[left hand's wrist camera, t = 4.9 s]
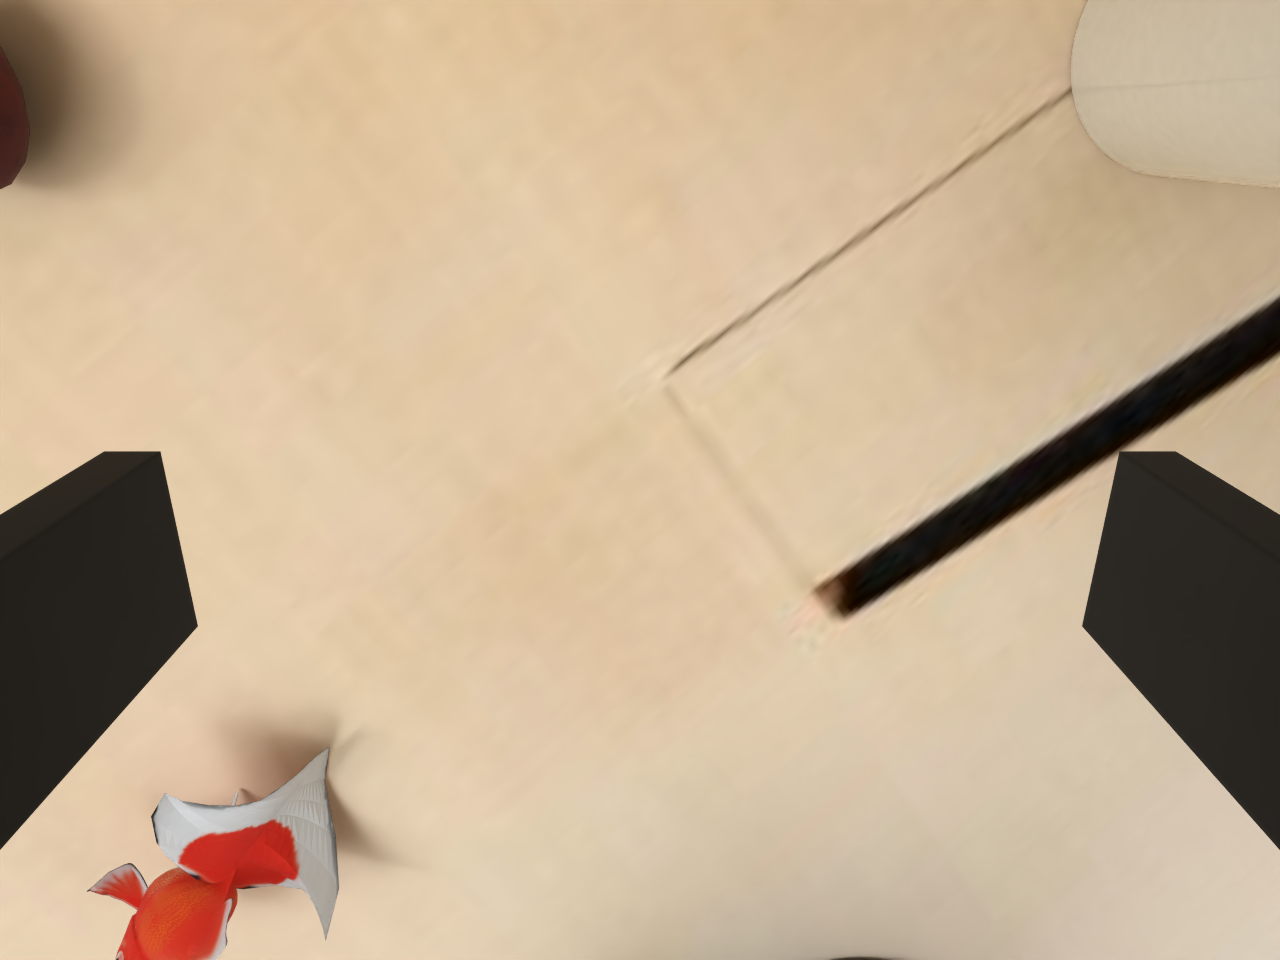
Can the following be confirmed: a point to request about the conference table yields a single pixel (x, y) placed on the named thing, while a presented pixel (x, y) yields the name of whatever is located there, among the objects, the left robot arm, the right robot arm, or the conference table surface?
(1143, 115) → the jar
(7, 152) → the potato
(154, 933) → the fish
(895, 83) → the conference table surface
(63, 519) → the left robot arm
